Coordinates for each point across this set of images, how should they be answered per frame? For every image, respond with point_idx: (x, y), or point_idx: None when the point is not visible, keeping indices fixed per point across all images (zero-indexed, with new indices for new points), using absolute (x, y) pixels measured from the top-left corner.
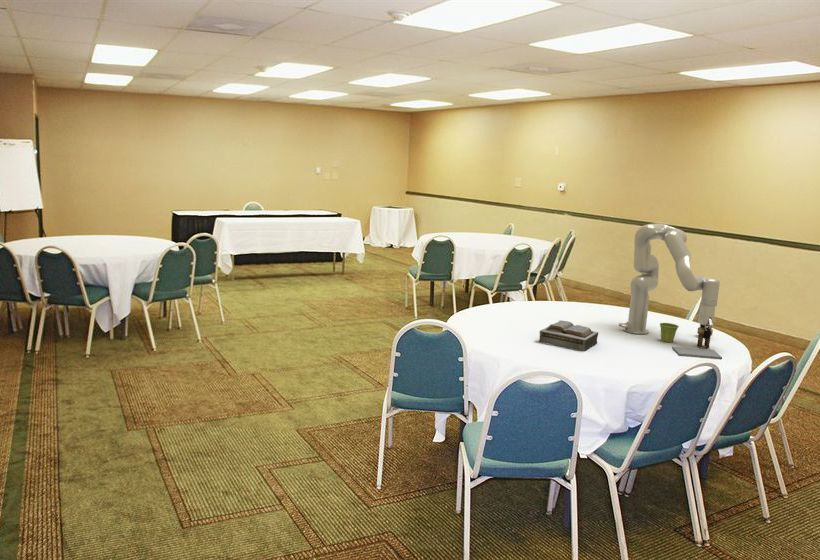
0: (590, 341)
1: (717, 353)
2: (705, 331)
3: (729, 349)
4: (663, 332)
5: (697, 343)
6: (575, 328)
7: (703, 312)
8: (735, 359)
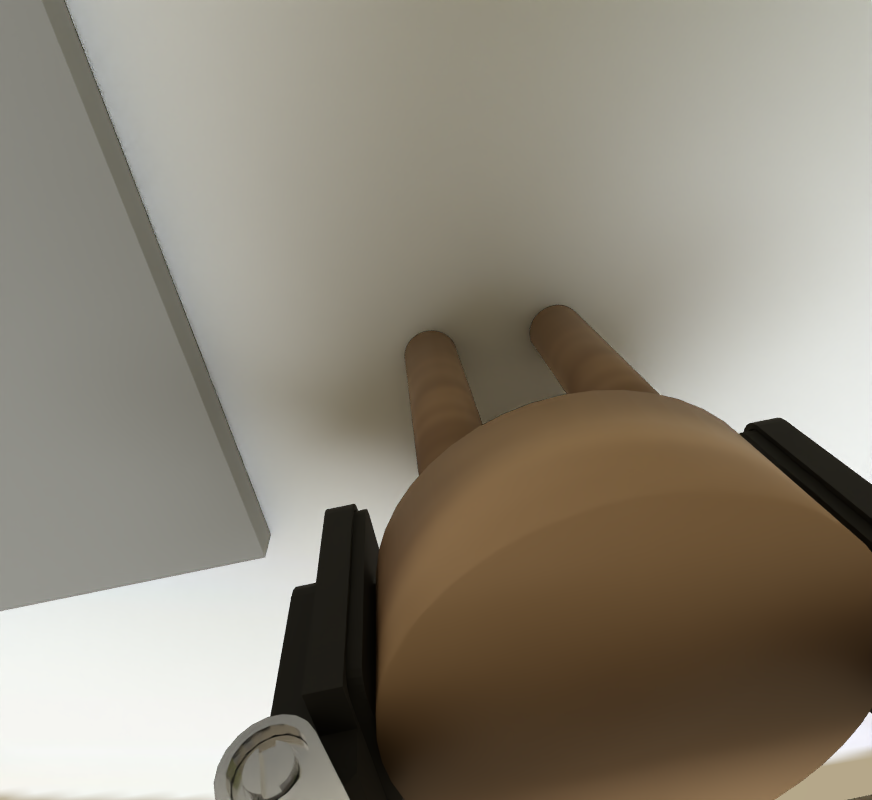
0: None
1: (34, 596)
2: (315, 696)
3: None
4: None
5: (562, 321)
6: None
7: None
8: (19, 746)
